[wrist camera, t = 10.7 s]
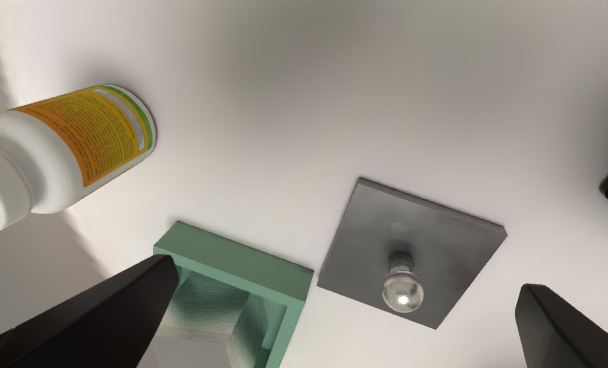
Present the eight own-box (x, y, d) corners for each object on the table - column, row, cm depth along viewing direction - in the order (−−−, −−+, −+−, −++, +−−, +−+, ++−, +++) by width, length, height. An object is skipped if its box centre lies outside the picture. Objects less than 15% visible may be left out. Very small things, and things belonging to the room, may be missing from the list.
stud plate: (503, 227, 20) (531, 279, 16) (434, 320, 24) (443, 378, 20) (359, 177, 20) (353, 216, 16) (318, 278, 25) (306, 326, 21)
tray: (313, 271, 24) (305, 302, 22) (281, 354, 30) (271, 387, 27) (177, 221, 25) (153, 245, 23) (169, 312, 31) (150, 340, 28)
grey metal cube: (268, 327, 28) (241, 400, 23) (207, 319, 29) (169, 386, 24) (258, 276, 25) (225, 345, 20) (192, 270, 26) (145, 333, 21)
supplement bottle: (100, 64, 20) (-98, 103, 12) (172, 121, 21) (31, 195, 13) (76, 126, 23) (-100, 193, 15) (140, 175, 24) (7, 265, 16)
